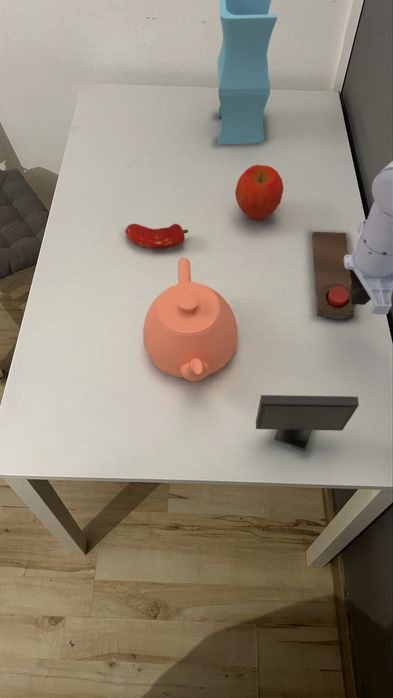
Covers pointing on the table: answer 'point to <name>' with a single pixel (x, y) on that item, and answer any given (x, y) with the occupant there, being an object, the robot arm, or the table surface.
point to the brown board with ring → (331, 272)
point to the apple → (259, 191)
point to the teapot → (189, 329)
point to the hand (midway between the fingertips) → (358, 300)
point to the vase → (244, 69)
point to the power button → (337, 296)
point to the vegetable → (156, 236)
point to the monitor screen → (305, 412)
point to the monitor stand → (293, 437)
